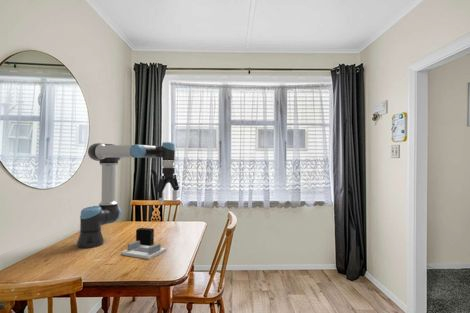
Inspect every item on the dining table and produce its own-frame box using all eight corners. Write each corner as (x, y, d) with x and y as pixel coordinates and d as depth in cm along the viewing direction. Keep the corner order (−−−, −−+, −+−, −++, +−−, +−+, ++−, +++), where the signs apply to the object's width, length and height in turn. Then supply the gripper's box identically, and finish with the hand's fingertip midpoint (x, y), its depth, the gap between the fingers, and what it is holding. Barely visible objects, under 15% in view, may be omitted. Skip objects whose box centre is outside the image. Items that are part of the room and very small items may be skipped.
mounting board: (120, 254, 156) (121, 245, 156) (139, 246, 170) (139, 238, 170) (149, 259, 148) (149, 249, 149) (166, 250, 162) (166, 242, 162)
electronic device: (150, 246, 171) (150, 230, 172) (135, 245, 173) (136, 229, 174) (153, 244, 176) (153, 228, 176) (139, 243, 178) (139, 227, 178)
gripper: (160, 167, 156) (160, 205, 156) (184, 167, 179) (184, 199, 179) (150, 167, 159) (149, 204, 159) (174, 167, 182) (174, 199, 182)
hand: (168, 202), depth 169 cm, fingers open, 13 cm apart
